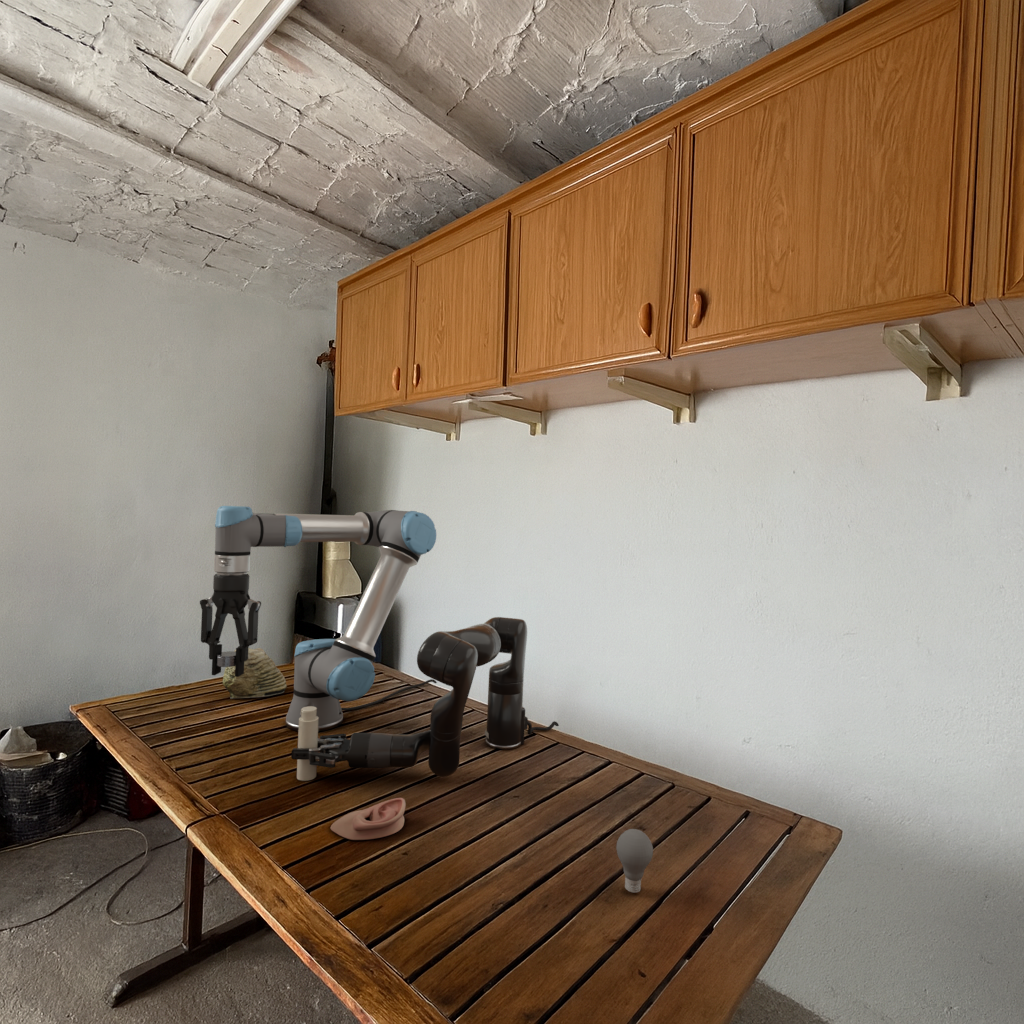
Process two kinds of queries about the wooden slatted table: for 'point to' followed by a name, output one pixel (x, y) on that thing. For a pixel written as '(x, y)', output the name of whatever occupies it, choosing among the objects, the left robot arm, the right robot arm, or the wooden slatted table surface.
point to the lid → (226, 659)
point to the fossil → (255, 677)
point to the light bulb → (634, 857)
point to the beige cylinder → (307, 741)
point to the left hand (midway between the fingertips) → (227, 674)
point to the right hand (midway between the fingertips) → (295, 749)
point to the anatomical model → (372, 821)
